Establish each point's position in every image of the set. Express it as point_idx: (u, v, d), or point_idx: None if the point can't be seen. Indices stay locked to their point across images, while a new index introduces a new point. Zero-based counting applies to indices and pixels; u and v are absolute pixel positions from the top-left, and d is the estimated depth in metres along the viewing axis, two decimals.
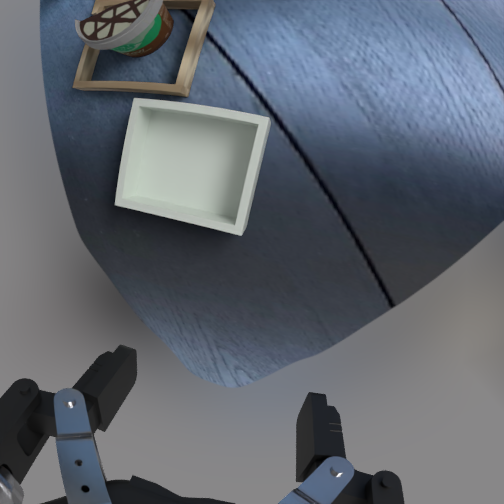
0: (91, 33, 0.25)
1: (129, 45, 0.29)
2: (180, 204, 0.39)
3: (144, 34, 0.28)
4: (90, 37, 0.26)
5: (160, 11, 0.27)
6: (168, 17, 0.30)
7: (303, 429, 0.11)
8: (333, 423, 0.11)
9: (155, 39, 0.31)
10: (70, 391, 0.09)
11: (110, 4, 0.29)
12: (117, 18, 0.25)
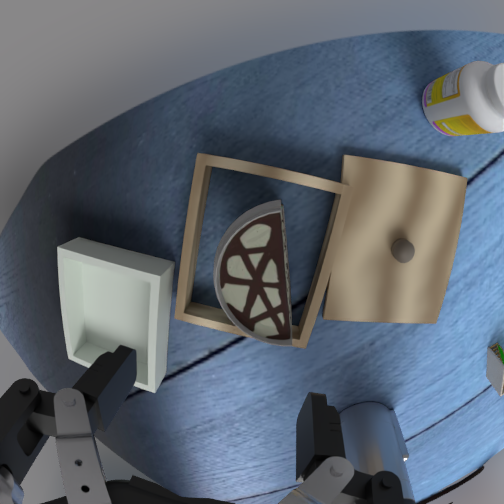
0: (242, 243, 0.23)
1: None
2: (83, 294, 0.36)
3: None
4: (234, 243, 0.23)
5: None
6: None
7: (303, 429, 0.11)
8: (333, 423, 0.11)
9: None
10: (70, 391, 0.09)
11: (340, 206, 0.28)
12: (257, 289, 0.24)
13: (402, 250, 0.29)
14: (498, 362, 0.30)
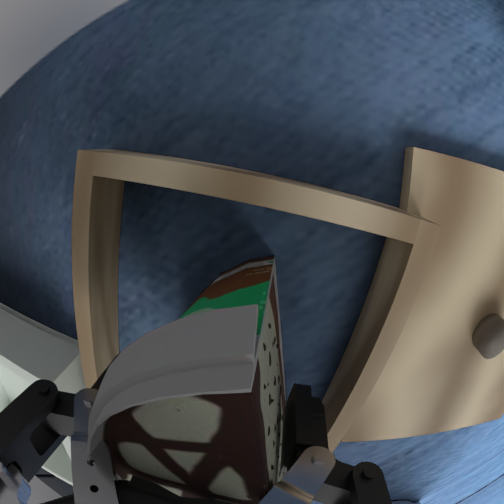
0: (142, 427, 0.06)
1: None
2: None
3: None
4: (121, 421, 0.06)
5: None
6: None
7: (288, 420, 0.11)
8: (317, 414, 0.11)
9: None
10: (90, 391, 0.09)
11: (407, 272, 0.11)
12: (200, 496, 0.07)
13: (494, 339, 0.12)
14: None
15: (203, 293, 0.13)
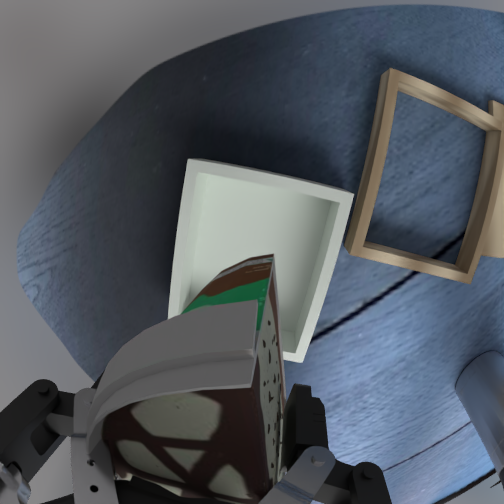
0: (141, 424, 0.06)
1: None
2: (198, 238, 0.30)
3: None
4: (120, 419, 0.06)
5: None
6: None
7: (288, 420, 0.11)
8: (317, 414, 0.11)
9: None
10: (90, 391, 0.09)
11: (501, 141, 0.21)
12: (200, 495, 0.07)
13: None
14: None
15: (202, 291, 0.13)
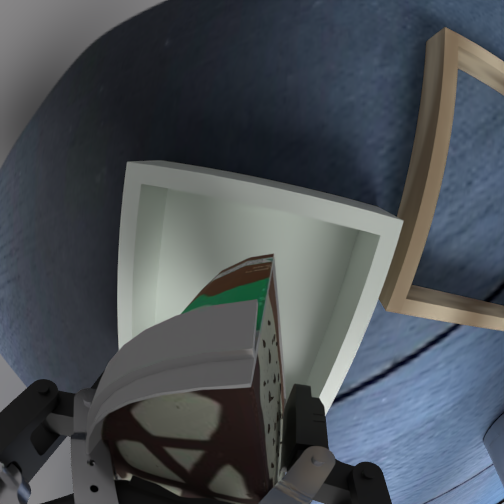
0: (141, 424, 0.06)
1: None
2: (158, 279, 0.20)
3: None
4: (120, 419, 0.06)
5: None
6: None
7: (288, 420, 0.11)
8: (317, 414, 0.11)
9: None
10: (90, 391, 0.09)
11: None
12: (200, 495, 0.07)
13: None
14: None
15: (202, 291, 0.13)
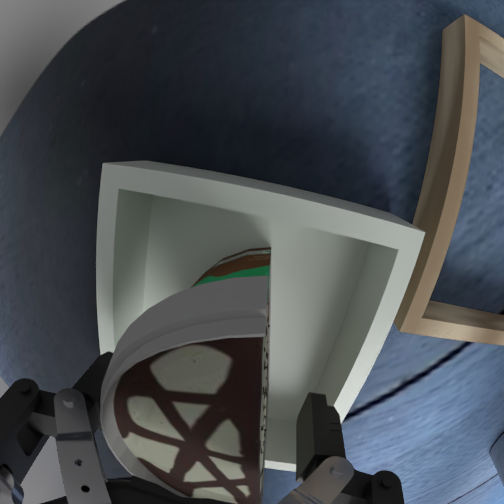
0: (157, 379, 0.08)
1: None
2: (145, 293, 0.18)
3: None
4: (138, 374, 0.08)
5: None
6: None
7: (303, 429, 0.11)
8: (333, 423, 0.11)
9: None
10: (70, 391, 0.09)
11: None
12: (195, 454, 0.09)
13: None
14: None
15: (207, 274, 0.14)
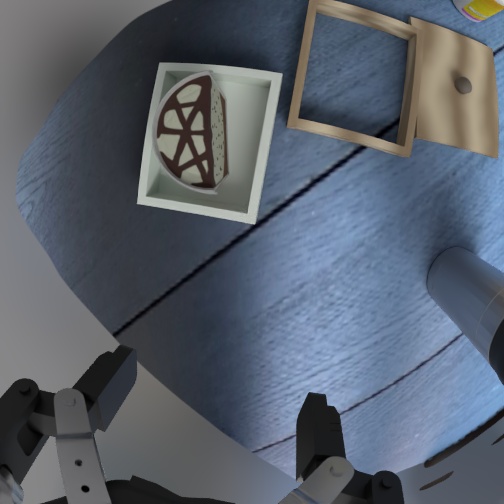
0: (178, 99, 0.25)
1: None
2: None
3: None
4: (172, 99, 0.25)
5: None
6: None
7: (303, 429, 0.11)
8: (333, 423, 0.11)
9: None
10: (70, 391, 0.09)
11: (417, 41, 0.26)
12: (186, 137, 0.26)
13: (463, 83, 0.28)
14: None
15: None
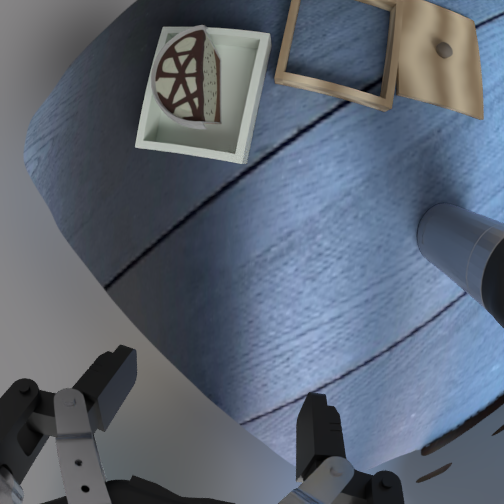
0: (175, 49, 0.26)
1: None
2: None
3: None
4: (170, 49, 0.26)
5: None
6: None
7: (303, 429, 0.11)
8: (333, 423, 0.11)
9: None
10: (70, 391, 0.09)
11: (397, 9, 0.27)
12: (180, 79, 0.27)
13: (443, 47, 0.28)
14: None
15: None
